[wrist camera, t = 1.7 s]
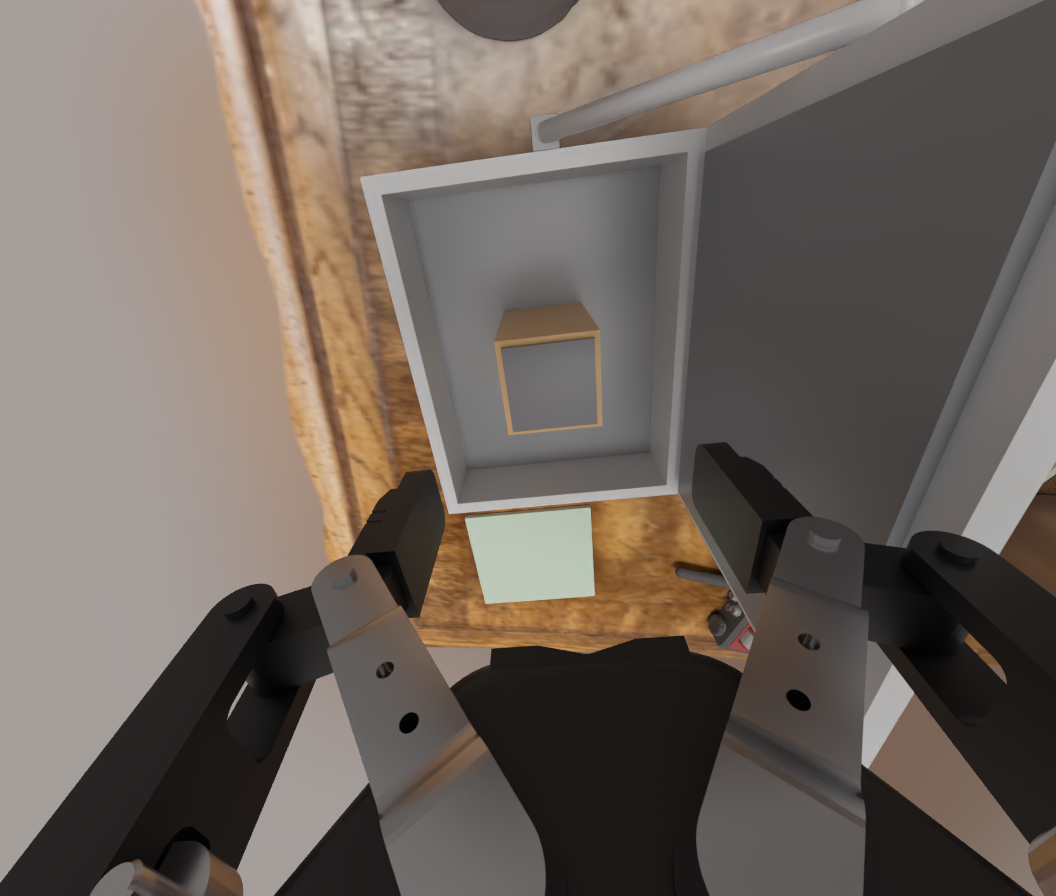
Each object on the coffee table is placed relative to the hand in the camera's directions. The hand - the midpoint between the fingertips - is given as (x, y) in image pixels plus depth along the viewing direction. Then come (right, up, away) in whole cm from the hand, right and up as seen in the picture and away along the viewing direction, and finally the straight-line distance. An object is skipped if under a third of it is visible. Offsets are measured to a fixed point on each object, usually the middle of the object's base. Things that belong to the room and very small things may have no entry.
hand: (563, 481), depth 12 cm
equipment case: (+1, +9, +15) cm, 18 cm away
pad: (-1, -9, +25) cm, 27 cm away
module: (0, +8, +15) cm, 17 cm away
